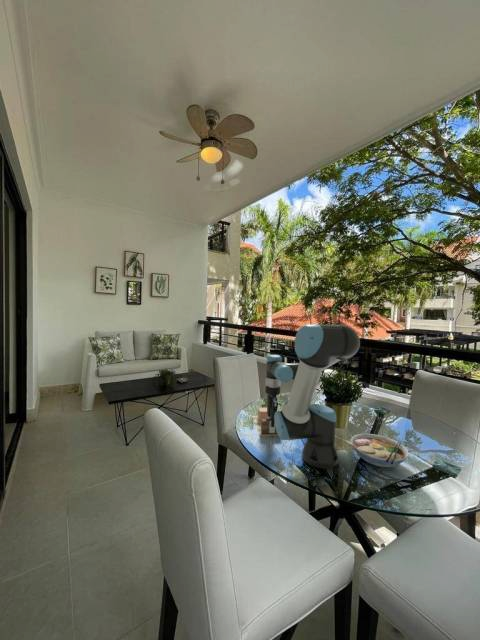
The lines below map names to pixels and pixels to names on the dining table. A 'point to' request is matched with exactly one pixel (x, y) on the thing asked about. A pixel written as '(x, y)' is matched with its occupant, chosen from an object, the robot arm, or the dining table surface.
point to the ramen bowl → (379, 450)
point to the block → (262, 413)
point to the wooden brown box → (263, 427)
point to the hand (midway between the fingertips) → (271, 430)
